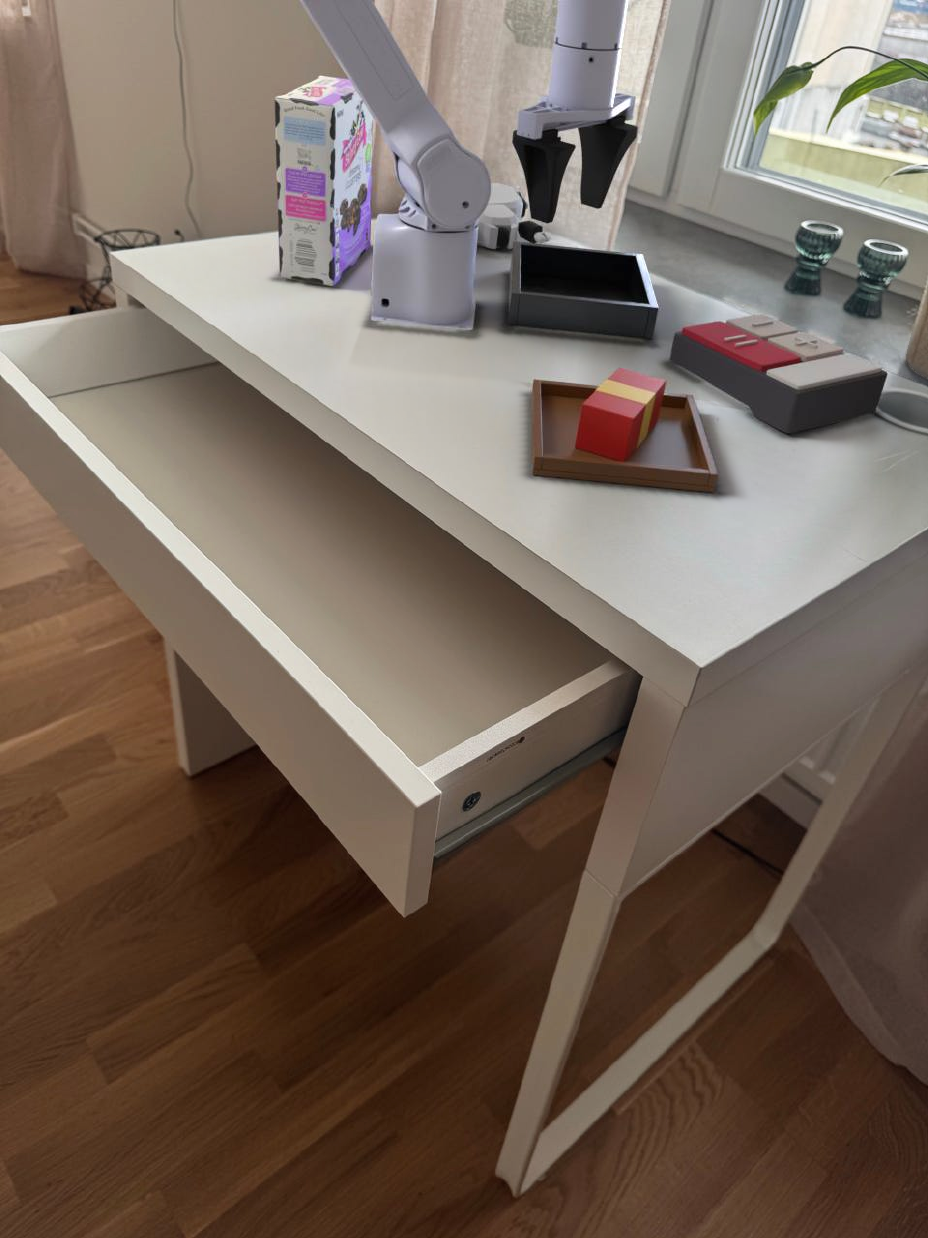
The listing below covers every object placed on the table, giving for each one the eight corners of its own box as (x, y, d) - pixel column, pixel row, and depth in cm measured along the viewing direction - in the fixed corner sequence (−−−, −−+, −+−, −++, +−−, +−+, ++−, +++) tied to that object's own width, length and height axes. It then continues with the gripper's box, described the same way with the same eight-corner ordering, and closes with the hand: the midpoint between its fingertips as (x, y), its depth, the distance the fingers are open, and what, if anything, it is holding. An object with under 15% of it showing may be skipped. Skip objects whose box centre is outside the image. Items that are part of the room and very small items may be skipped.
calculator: (762, 308, 90) (893, 363, 80) (751, 353, 93) (877, 412, 83) (673, 323, 85) (801, 384, 75) (665, 370, 88) (787, 434, 78)
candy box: (334, 288, 96) (334, 103, 85) (277, 279, 96) (270, 95, 86) (372, 247, 106) (376, 79, 96) (321, 239, 107) (319, 71, 97)
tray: (532, 474, 70) (534, 456, 69) (531, 395, 80) (533, 378, 79) (713, 492, 70) (718, 474, 69) (689, 411, 80) (693, 394, 79)
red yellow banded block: (573, 448, 72) (581, 403, 70) (610, 409, 78) (618, 366, 76) (624, 463, 71) (634, 418, 69) (657, 422, 77) (667, 379, 75)
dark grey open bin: (507, 330, 91) (511, 292, 88) (509, 275, 103) (513, 240, 101) (650, 345, 91) (658, 307, 89) (636, 288, 103) (642, 254, 101)
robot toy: (553, 265, 109) (513, 215, 120) (560, 225, 106) (518, 177, 117) (448, 266, 106) (417, 214, 116) (452, 225, 103) (419, 175, 113)
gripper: (599, 32, 88) (579, 190, 96) (495, 42, 79) (483, 215, 87) (665, 44, 84) (638, 207, 93) (563, 57, 75) (543, 235, 84)
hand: (566, 212), depth 90 cm, fingers open, 7 cm apart
